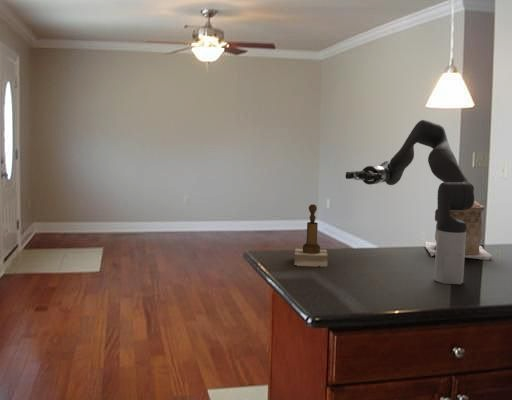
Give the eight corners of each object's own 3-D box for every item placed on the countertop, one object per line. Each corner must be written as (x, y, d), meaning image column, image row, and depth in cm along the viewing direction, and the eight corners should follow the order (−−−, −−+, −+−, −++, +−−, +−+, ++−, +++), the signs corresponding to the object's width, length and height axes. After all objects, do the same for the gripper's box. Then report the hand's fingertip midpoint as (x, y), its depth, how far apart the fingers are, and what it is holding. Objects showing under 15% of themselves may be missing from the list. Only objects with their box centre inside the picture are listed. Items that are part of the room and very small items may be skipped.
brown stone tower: (493, 261, 228) (498, 180, 224) (428, 257, 233) (432, 177, 229) (482, 249, 252) (487, 175, 249) (423, 245, 257) (427, 173, 253)
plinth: (327, 266, 212) (327, 256, 211) (294, 265, 213) (294, 254, 212) (326, 259, 224) (326, 249, 223) (295, 258, 225) (295, 248, 224)
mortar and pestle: (320, 254, 214) (322, 205, 212) (303, 253, 215) (304, 205, 213) (319, 250, 221) (320, 203, 219) (302, 250, 221) (303, 203, 219)
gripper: (358, 164, 242) (340, 166, 229) (390, 166, 234) (374, 168, 221) (357, 182, 243) (340, 185, 230) (389, 185, 235) (373, 187, 222)
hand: (356, 176), depth 225 cm, fingers open, 8 cm apart
